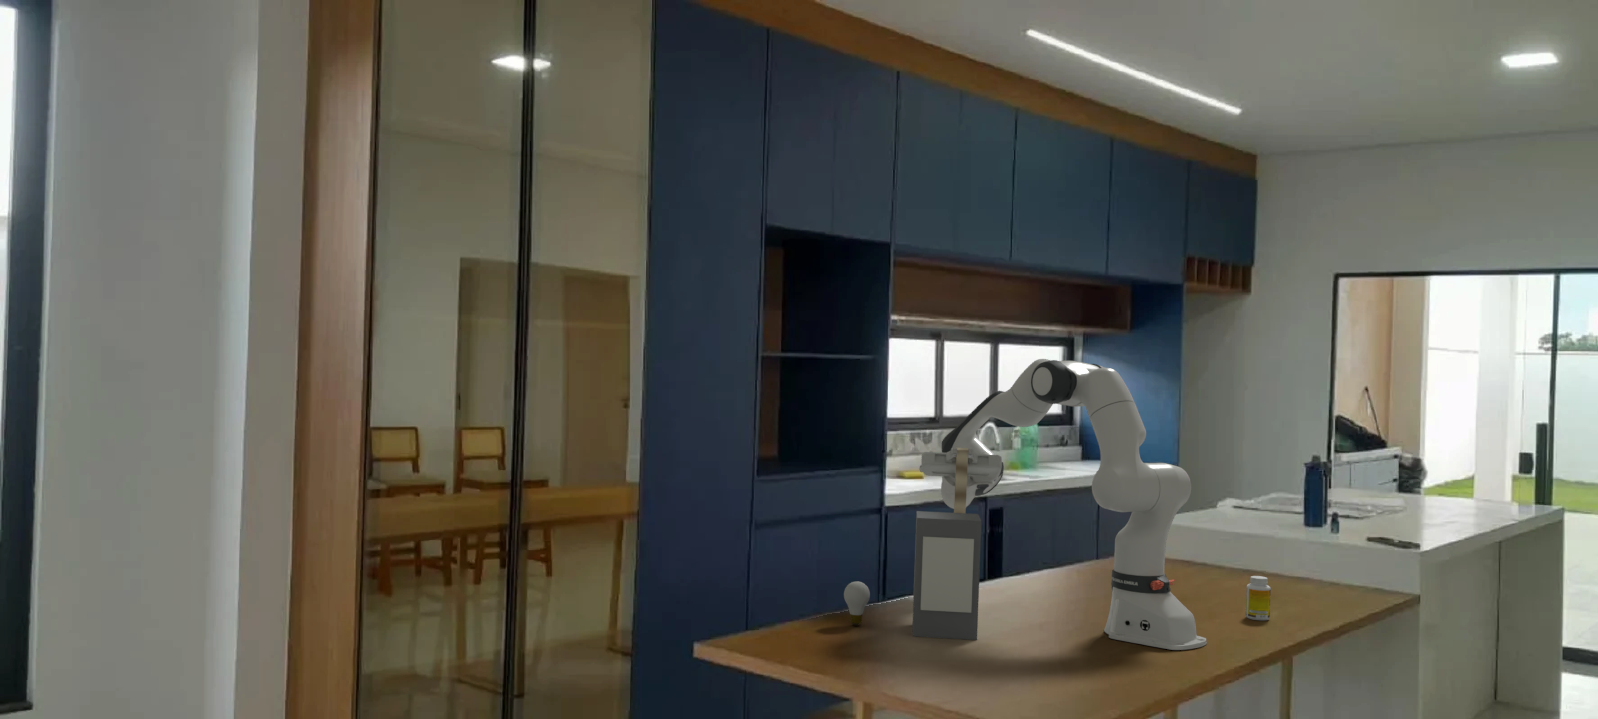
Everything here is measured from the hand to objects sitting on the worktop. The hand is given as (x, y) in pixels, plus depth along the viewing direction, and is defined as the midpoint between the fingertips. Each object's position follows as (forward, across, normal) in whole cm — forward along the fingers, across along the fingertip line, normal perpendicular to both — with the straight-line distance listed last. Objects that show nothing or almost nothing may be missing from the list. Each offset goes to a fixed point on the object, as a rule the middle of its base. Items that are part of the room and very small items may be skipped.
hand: (962, 451), depth 299 cm
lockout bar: (-10, 0, +6) cm, 11 cm away
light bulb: (+6, -24, +48) cm, 54 cm away
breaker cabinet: (+7, -4, +48) cm, 49 cm away
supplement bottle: (-22, +74, +32) cm, 83 cm away
